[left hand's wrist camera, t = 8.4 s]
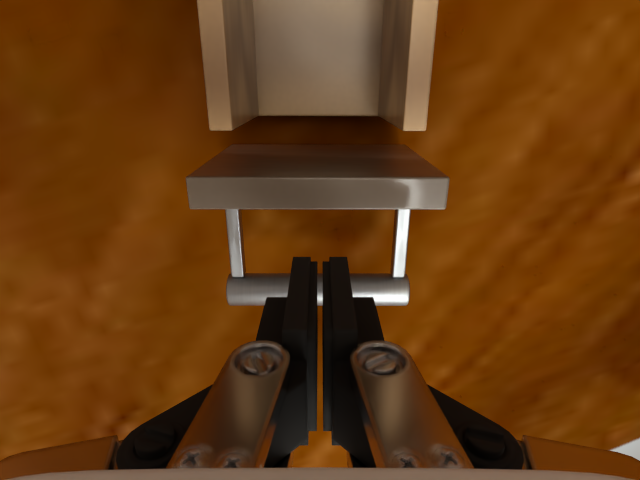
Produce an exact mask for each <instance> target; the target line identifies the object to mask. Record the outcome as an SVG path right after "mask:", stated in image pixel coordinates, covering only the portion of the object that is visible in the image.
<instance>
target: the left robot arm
mask: <svg viewBox="0 0 640 480" xmlns="http://www.w3.org/2000/svg"><path fill="white" fill-rule="evenodd" d="M308 431H317V262H311V258H310V257H293V261H292V268H291V274H290V281H289V287H288V294H287V297H267V298H266V301H265V305H264V309H263V313H262V317H261V321H260V325H259V329H258V333H257V337H256V341H253V342H249V343H246V344H244V345H241V346H240V347H238V348H237V349H235V350H234V351H233V352H232V353H231V355H230V356H229V357H228V359H227V361H226V363H225V365H224V366H223V368H222V370H221V372H220V373H219V375H218V377H217V379H216V380H215V382H214V384H213V385H211V386H209V387H207V388H206V389H204V390H202V391H200V392H199V393H197V394H195V395H193V396H191V397H190V398H188V399H186V400H184V401H183V402H181V403H179V404H177V405H175V406H174V407H172V408H170V409H168V410H167V411H165V412H163V413H161V414H160V415H158V416H156V417H154V418H152V419H151V420H149V421H147V422H145V423H144V424H142V425H140V426H139V427H137V428H136V429H135V430H133V431H132V432H131V433H130V434H129V435H128V436H127V437H126V438H125V439H124V440H121V441H118V437H117V435H114V436H109V437H103V438H98V439H92V440H87V441H81V442H76V443H70V444H65V445H60V446H54V447H49V448H43V449H38V450H32V451H27V452H22V453H19V454H15V455H12V456H9V457H7V458H5V459H3V460H1V461H0V480H640V461H639V460H637V459H635V458H633V457H631V456H628V455H625V454H621V453H618V452H613V451H608V450H602V449H597V448H591V447H586V446H580V445H575V444H570V443H564V442H559V441H553V440H548V439H542V438H537V437H531V436H526V435H523V437H522V441H519V440H516V439H515V438H514V437H513V436H512V435H511V434H510V433H509V432H508V431H507V430H505V429H504V428H503V427H501V426H500V425H498V424H496V423H495V422H493V421H491V420H489V419H488V418H486V417H484V416H482V415H480V414H479V413H477V412H475V411H473V410H472V409H470V408H468V407H466V406H465V405H463V404H461V403H459V402H457V401H456V400H454V399H452V398H450V397H449V396H447V395H445V394H443V393H441V392H440V391H438V390H436V389H434V388H433V387H431V386H429V385H427V384H426V382H425V380H424V379H423V377H422V375H421V373H420V372H419V370H418V368H417V366H416V365H415V363H414V361H413V359H412V357H411V356H410V355H409V353H408V352H407V351H406V350H405V349H403V348H402V347H400V346H399V345H396V344H394V343H391V342H387V341H384V337H383V333H382V329H381V325H380V321H379V317H378V313H377V309H376V305H375V301H374V298H373V297H353V294H352V288H351V281H350V274H349V268H348V261H347V257H330V258H329V262H323V431H332V445H341V446H342V447H343V448H344V449H346V450H347V465H348V468H292V465H293V450H294V449H296V448H297V447H298V446H299V445H308Z"/></svg>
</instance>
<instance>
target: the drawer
mask: <svg viewBox="0 0 640 480" xmlns="http://www.w3.org/2000/svg"><path fill="white" fill-rule="evenodd" d="M197 7H198V17H199V28H200V38H201V48H202V58H203V68H204V79H205V89H206V99H207V109H208V120H209V129H210V130H211V131H232V130H234V129H235V128H237V127H239V126H241V125H243V124H244V123H246V122H248V121H250V120H252V119H254V118H255V117H257V116H379V117H381V118H382V119H384V120H386V121H388V122H389V123H391V124H393V125H394V126H396V127H398V128H400V129H401V130H403V131H425V130H426V124H427V114H428V103H429V93H430V83H431V72H432V62H433V52H434V41H435V31H436V21H437V10H438V0H197ZM186 184H187V192H188V200H189V207H190V209H225V210H226V221H227V233H228V244H229V255H230V266H231V274H229V276H228V279H227V286H226V296H227V302H228V304H229V305H265V301H266V298H267V297H287V294H288V287H289V281H290V274H291V273H245V272H246V269H245V255H244V242H243V228H242V215H241V209H395V218H394V231H393V244H392V258H391V271H390V272H391V274H350V281H351V288H352V294H353V297H373V298H374V301H375V305H386V306H405V305H407V304H408V302H409V297H410V286H409V279H408V276H407V274H405V267H406V256H407V245H408V234H409V223H410V211H411V209H445V208H446V203H447V195H448V187H449V177H448V176H447V175H445V174H444V173H442V172H441V171H440V170H438V169H437V168H436V167H434V166H433V165H432V164H430V163H429V162H428V161H426V160H425V159H423V158H422V157H421V156H419V155H418V154H417V153H415V152H414V151H413V150H411V149H410V148H409V147H407V146H406V145H320V144H232V145H231V146H229V147H228V148H226V149H225V150H223V151H222V152H221V153H219V154H218V155H216V156H215V157H214V158H212V159H211V160H209V161H208V162H207V163H205V164H204V165H202V166H201V167H200V168H198V169H197V170H195V171H194V172H193V173H191V174H190V175H188V176H187V177H186ZM317 305H323V274H317Z"/></svg>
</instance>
